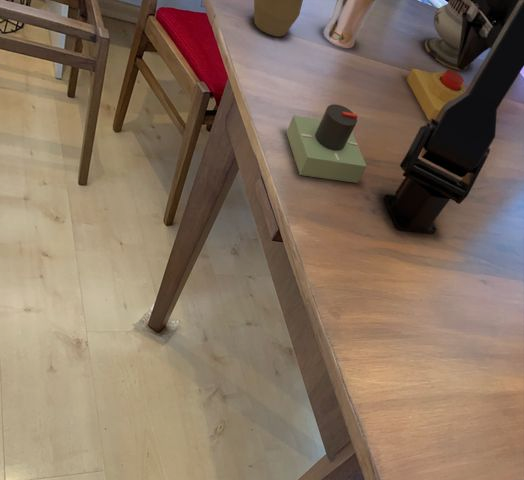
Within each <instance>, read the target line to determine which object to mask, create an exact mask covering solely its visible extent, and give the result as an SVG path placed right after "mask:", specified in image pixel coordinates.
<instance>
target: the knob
mask: <svg viewBox="0 0 524 480" xmlns="http://www.w3.org/2000/svg"><path fill="white" fill-rule="evenodd" d="M320 120H321V122H320V125H319V127H318V129H317V131H316V134H315V136H316V139H317V140H318V142H319V143H320V144H321V145H323V146H324V147H326V148H328V149H331V150H342V149H343V148H344V147H345V145H346V143H347V141H348V139H349V137H350V135H351V133H352V132H353V131H354V129H355V127H356V125H357V123H358V114H357V113H354V112H353V111H352V110H350V109H349V108H347V107H346V106H344V105H340V104H336V103H335V104H333V103H331V104H329V105H328V106H327V107H326V109H325V111H324V113H323V115H322V118H321V119H320Z"/></svg>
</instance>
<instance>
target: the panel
mask: <svg viewBox="0 0 524 480" xmlns="http://www.w3.org/2000/svg"><path fill="white" fill-rule="evenodd" d="M321 120H322V119H317V118H311V117H306V116H302V115H301V116H300V115H295V114H293V115H292V117H291V120H290V123H289V124H288V128H287V130H286V136H287V140H288V143H289V146H290V149H291V152H292V155H293V158H294V162H295V164H296V167H297V171H298V174H299V175H300V176H304V177H312V178H319V179H324V180H325V179H326V180H333V181H338V182H339V181H340V182H347V183H354V184H358V183H359V182H360V179H361V178H362V176H363V174H364V172H365V171H366V169H367V167H368V166H367V163H366V161H365V158H364V156H363V153H362V152H361V149H360V147H359V144H358V142H357V139H356V137H355V135H354V132H353V131H352V133H351V135H350V137H349V139H348V141H347V143H346V145H345V147H344V148H343V149H342V150H331V149H328V148H326V147H324V146H323V145H321V144H320V143H319V142H318V140H317V139H316V136H315V134H316V131H317V129H318V127H319V125H320V122H321Z"/></svg>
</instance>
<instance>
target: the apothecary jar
mask: <svg viewBox="0 0 524 480" xmlns="http://www.w3.org/2000/svg"><path fill="white" fill-rule="evenodd" d="M470 7H471V1H470V0H461V1H457V0H448V2H447V3H446V4H444V5H442V6H440V7H439V8H438V9H437V10H436V11H435V13H434V16H433V26H434V30H435V31H436V33H437V35H438V36H439V38H428V39H427V40H426V41H425V42H424V48H425V50H426V52H427V53H428V54H429V55H431V56H432V57H433V58H434V60H435V61H437V62H438V63H440V64H441V65H443V66H446V67H448V68H450V69H452V70H457V71H462V70H461V69H458V67H457V60H458V53H459V46H460V39H461V30H462V20H463V18H462V13H463V12H465V13H467V12H468V10H469V9H470ZM467 68H468V66H467V67H466V68H464V69H463V70H466V69H467Z"/></svg>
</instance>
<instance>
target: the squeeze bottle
mask: <svg viewBox="0 0 524 480" xmlns="http://www.w3.org/2000/svg"><path fill="white" fill-rule="evenodd" d="M303 2H304V0H253V22H254V24H255V27H257V29H259V30H260V31H261V32H263V33H265V34H266V35H270V36H273V37H283V36H285V35H286V34H287V33H288V31H289V30H290V29H291V27H292V26H293V25H294V24H295V22H296V21H297V19H298V18H299V17H300V14H301V10H302V6H303Z"/></svg>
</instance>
